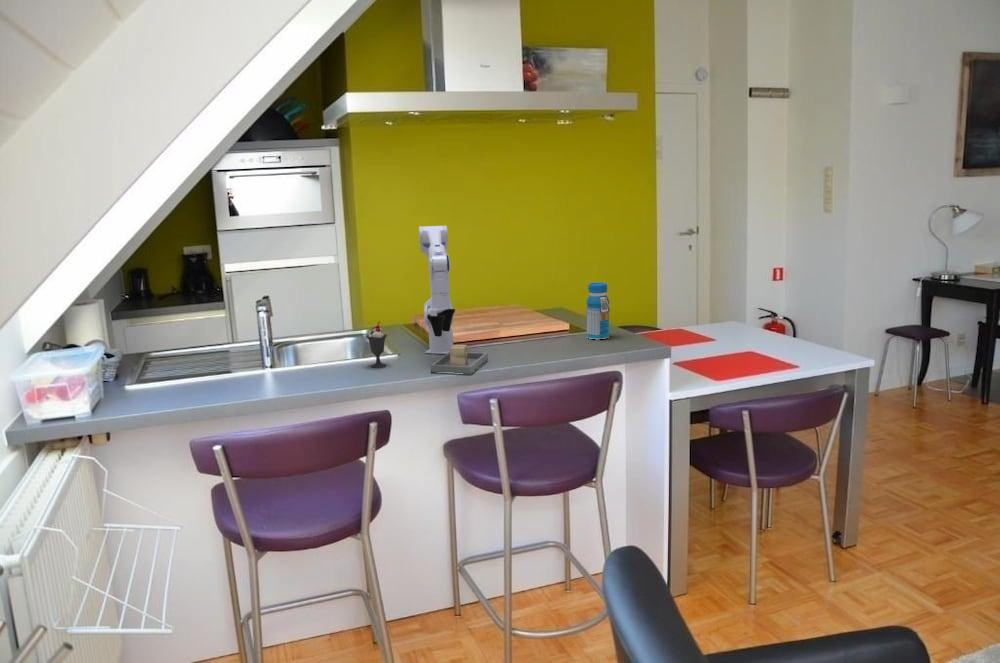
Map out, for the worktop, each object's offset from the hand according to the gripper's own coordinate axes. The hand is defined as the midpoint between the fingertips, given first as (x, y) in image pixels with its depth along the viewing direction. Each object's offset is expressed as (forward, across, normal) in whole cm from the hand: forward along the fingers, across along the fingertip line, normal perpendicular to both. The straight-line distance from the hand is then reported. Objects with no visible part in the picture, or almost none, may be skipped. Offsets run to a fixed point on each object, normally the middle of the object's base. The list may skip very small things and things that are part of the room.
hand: (442, 333), depth 255 cm
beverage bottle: (+10, -42, +44) cm, 62 cm away
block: (+9, +5, +7) cm, 12 cm away
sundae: (+10, +9, -19) cm, 23 cm away
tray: (+9, +5, +8) cm, 13 cm away
